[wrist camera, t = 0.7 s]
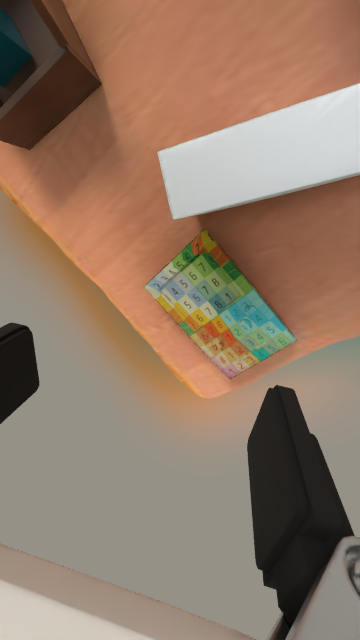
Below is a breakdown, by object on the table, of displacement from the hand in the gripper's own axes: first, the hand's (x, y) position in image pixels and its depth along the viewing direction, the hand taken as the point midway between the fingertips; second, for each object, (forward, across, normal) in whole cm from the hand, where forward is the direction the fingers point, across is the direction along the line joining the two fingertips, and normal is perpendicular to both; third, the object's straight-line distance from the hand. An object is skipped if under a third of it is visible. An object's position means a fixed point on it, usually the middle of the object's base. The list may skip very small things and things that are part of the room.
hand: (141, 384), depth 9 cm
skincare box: (+29, -6, -12) cm, 32 cm away
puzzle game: (+29, -3, +7) cm, 30 cm away
